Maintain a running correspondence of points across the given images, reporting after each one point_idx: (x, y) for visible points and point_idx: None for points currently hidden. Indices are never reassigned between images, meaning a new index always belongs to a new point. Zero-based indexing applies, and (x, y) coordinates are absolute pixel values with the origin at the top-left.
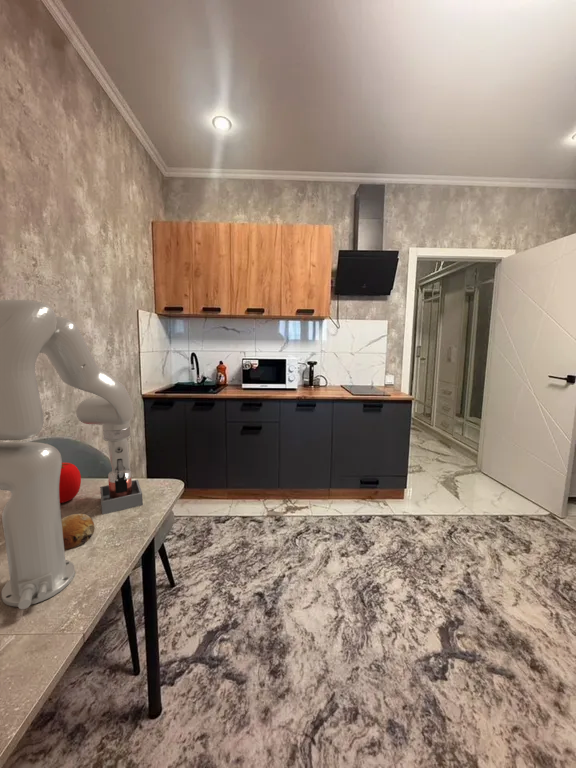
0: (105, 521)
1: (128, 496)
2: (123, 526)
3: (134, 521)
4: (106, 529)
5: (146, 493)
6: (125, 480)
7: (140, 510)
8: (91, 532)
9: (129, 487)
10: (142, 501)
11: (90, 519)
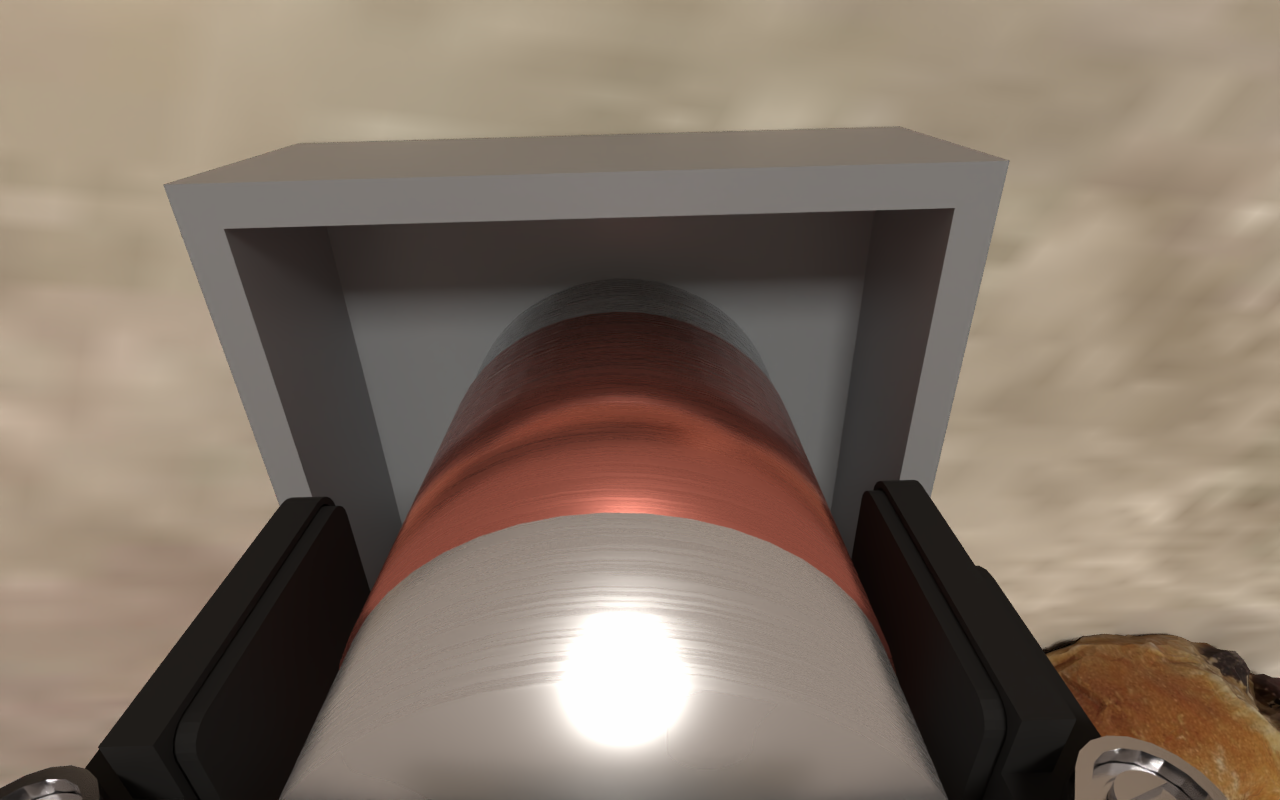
0: (1000, 550)
1: (944, 412)
2: (1269, 404)
3: (1274, 284)
4: (1172, 543)
5: (475, 5)
6: (1036, 700)
7: (1042, 180)
8: (1220, 670)
9: (776, 430)
10: (928, 137)
11: (1223, 768)
